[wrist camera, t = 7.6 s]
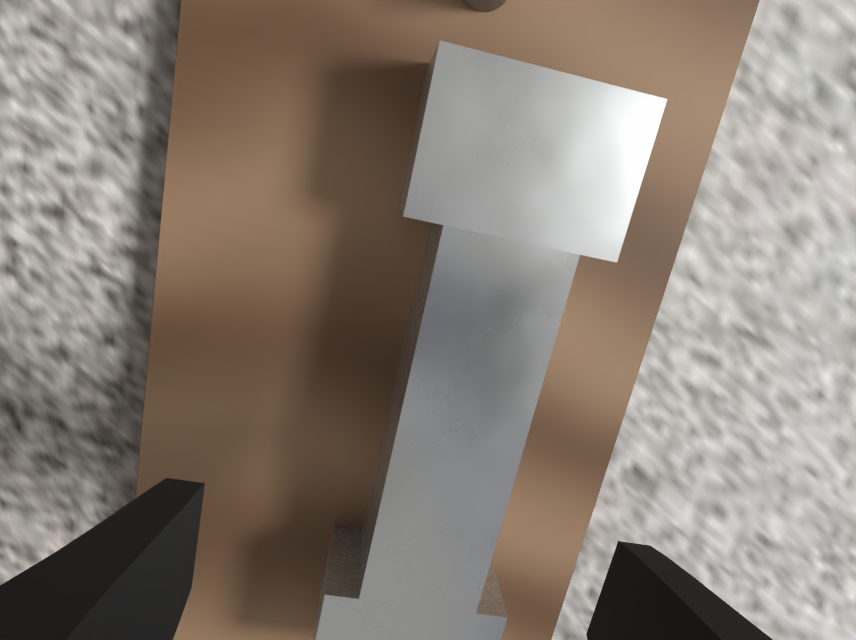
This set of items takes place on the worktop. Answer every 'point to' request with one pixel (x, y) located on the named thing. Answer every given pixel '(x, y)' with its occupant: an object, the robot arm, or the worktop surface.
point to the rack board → (381, 279)
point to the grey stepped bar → (480, 330)
